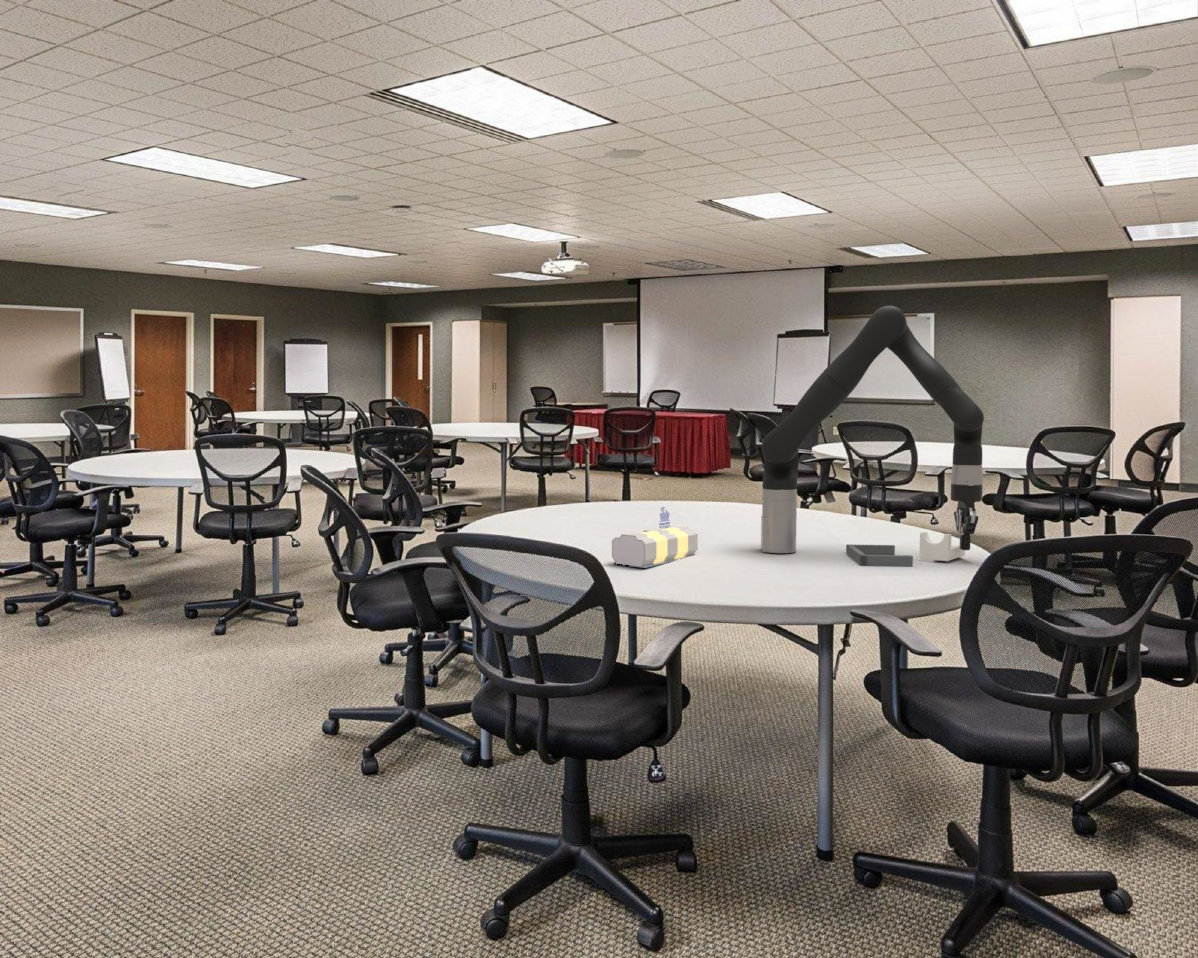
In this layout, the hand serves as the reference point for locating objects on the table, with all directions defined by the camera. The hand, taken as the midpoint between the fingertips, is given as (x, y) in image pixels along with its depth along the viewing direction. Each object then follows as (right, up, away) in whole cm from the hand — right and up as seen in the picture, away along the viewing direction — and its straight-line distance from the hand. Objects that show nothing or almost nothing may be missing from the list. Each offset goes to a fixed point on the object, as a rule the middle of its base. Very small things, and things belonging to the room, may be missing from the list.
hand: (964, 549), depth 233 cm
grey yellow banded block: (-79, -3, +4) cm, 79 cm away
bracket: (-5, -3, +3) cm, 6 cm away
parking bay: (-21, -3, +2) cm, 21 cm away
